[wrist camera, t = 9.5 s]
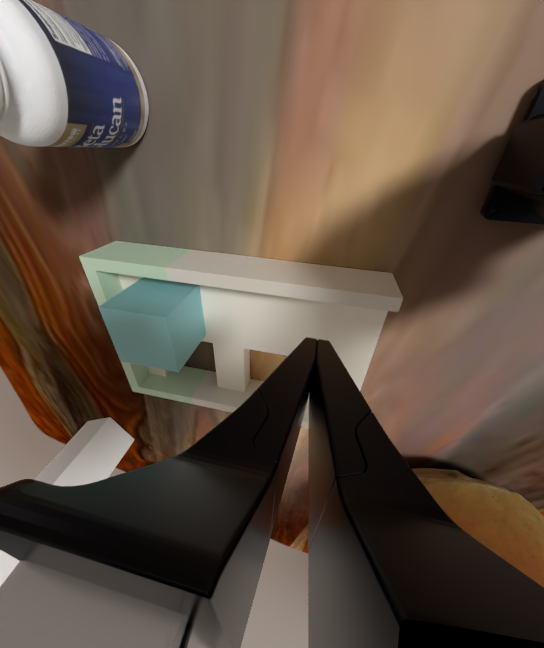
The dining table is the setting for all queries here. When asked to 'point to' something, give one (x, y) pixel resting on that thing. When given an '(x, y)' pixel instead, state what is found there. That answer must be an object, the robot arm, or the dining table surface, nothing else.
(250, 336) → the box
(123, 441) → the milk
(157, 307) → the block
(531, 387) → the dining table surface
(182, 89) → the dining table surface
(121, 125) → the pill bottle
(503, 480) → the dining table surface
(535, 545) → the ceramic pitcher
